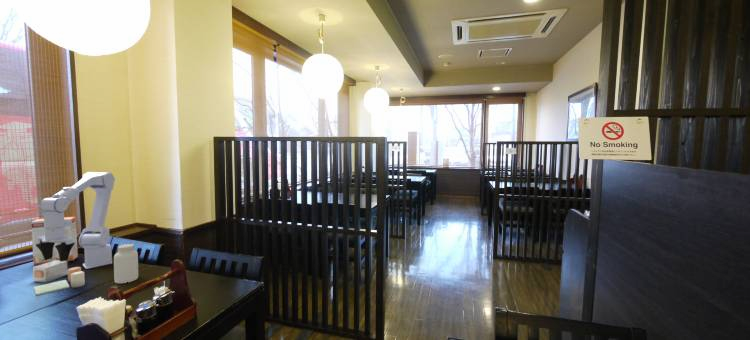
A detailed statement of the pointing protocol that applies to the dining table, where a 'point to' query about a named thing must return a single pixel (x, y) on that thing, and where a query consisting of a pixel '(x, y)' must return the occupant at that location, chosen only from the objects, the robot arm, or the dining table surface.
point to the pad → (51, 287)
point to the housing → (50, 271)
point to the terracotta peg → (73, 270)
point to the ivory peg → (77, 279)
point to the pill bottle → (125, 264)
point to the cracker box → (69, 232)
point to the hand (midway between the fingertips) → (56, 259)
